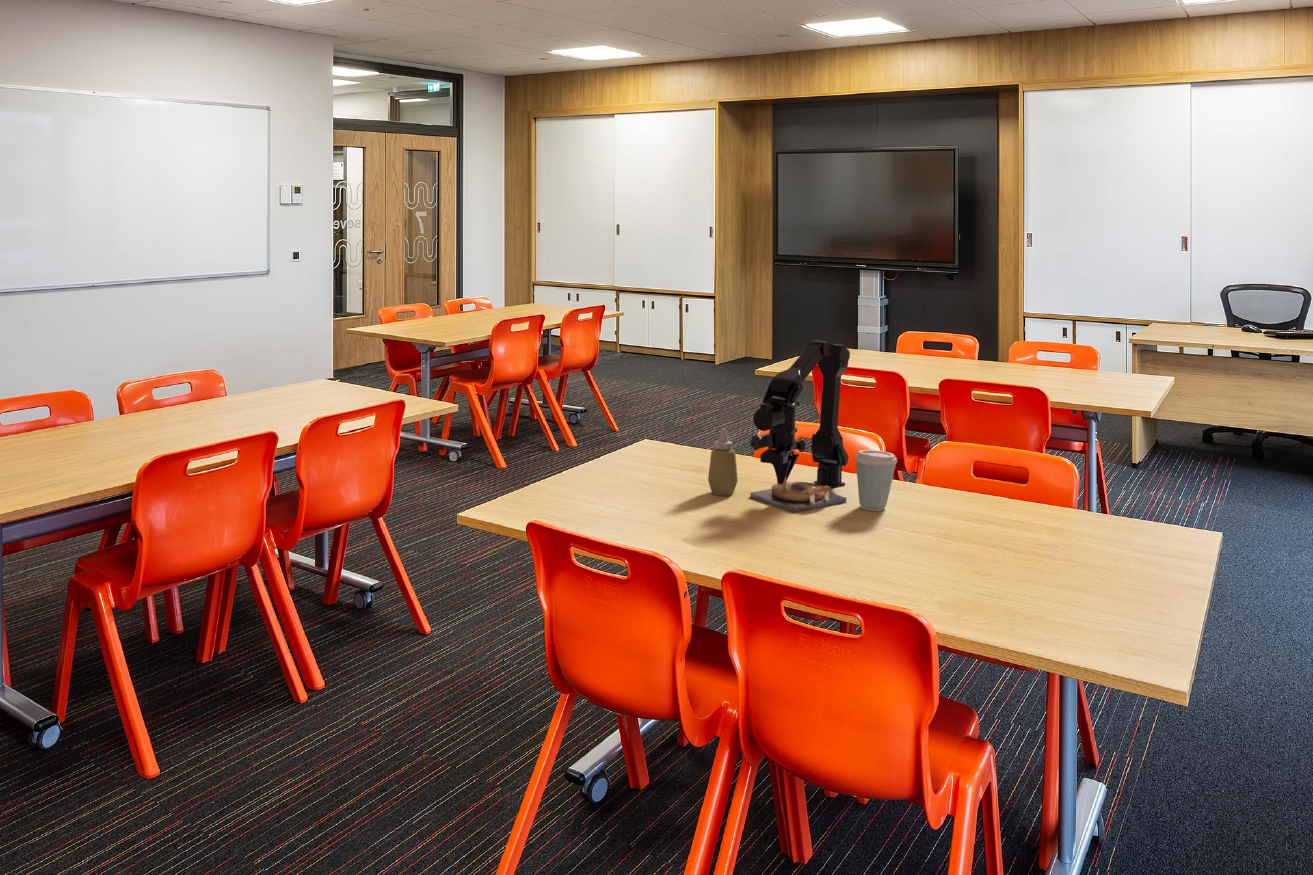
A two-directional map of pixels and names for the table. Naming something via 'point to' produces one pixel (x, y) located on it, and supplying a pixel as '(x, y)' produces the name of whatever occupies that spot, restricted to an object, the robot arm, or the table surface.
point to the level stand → (800, 505)
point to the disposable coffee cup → (874, 478)
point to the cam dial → (795, 491)
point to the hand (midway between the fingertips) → (782, 482)
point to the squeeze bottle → (723, 467)
